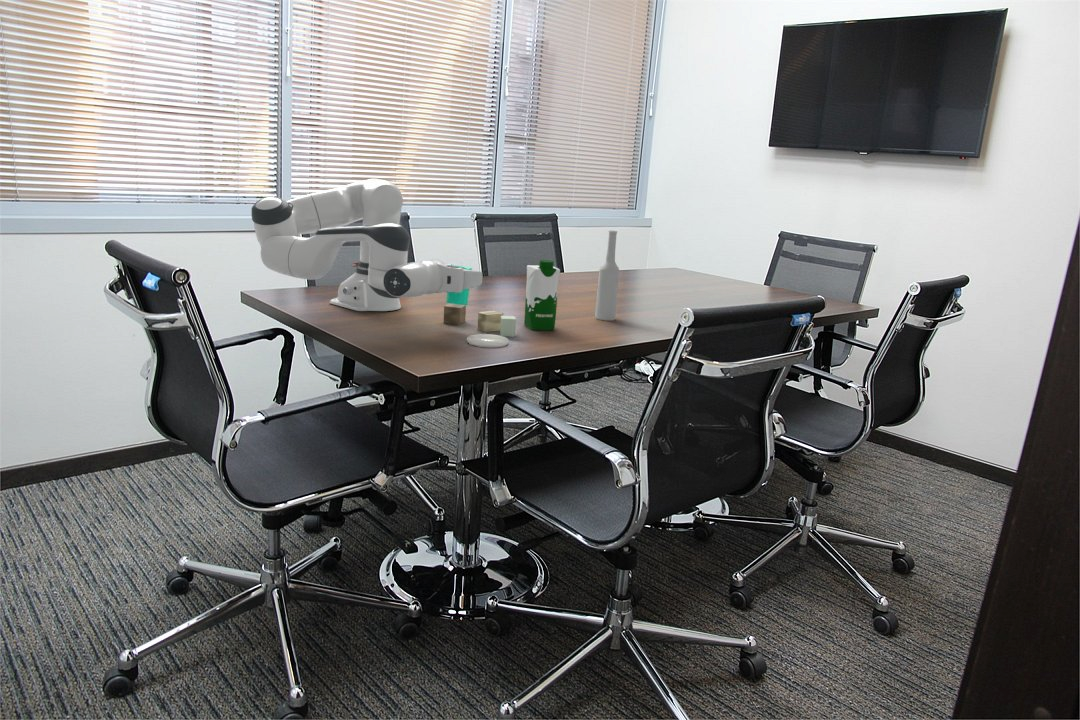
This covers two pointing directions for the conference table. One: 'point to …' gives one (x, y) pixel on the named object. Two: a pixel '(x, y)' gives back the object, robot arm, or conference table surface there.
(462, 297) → the candle
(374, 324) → the conference table surface
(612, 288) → the bottle
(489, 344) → the coaster
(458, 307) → the walnut block
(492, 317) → the maple block
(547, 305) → the milk carton
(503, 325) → the sage block
